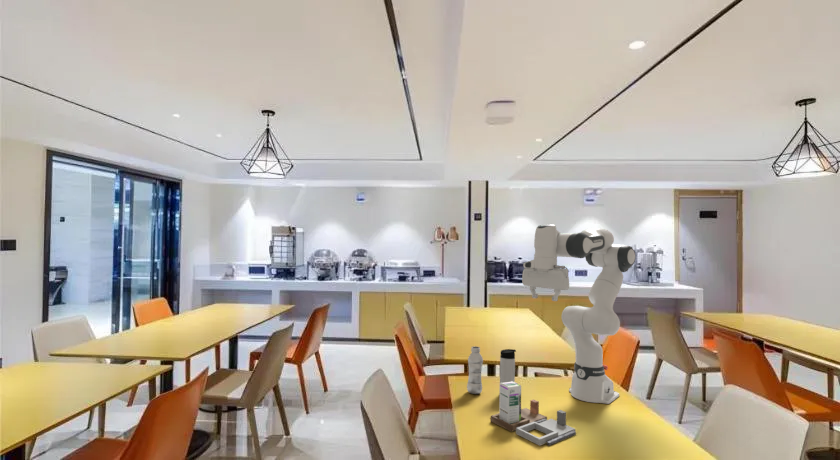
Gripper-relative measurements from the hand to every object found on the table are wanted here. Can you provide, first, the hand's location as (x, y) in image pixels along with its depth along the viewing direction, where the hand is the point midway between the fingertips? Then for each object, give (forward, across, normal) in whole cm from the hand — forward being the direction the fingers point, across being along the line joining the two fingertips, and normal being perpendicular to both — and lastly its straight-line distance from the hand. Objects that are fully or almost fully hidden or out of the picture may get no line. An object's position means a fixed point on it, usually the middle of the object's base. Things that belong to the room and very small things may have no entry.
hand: (544, 299), depth 163 cm
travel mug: (+44, +20, -2) cm, 49 cm away
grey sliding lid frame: (+44, -12, +14) cm, 48 cm away
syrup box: (+45, 0, +19) cm, 48 cm away
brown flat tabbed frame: (+44, 0, +14) cm, 46 cm away
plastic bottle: (+44, +30, +8) cm, 54 cm away
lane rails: (+44, -6, +13) cm, 47 cm away
